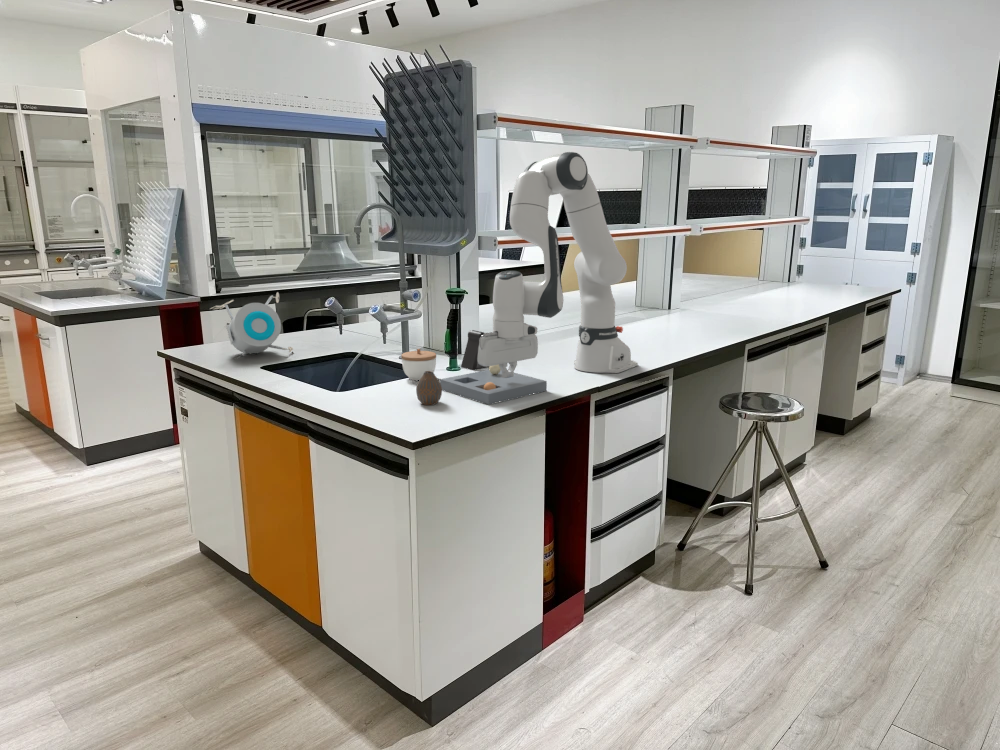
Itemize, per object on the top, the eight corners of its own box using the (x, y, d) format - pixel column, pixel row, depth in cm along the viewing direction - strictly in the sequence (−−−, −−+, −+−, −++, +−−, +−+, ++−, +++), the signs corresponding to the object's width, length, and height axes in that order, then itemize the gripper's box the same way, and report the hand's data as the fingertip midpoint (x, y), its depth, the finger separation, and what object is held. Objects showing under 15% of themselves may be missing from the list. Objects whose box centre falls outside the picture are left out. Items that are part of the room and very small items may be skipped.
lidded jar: (431, 373, 223) (430, 344, 221) (441, 380, 213) (440, 350, 211) (398, 376, 219) (397, 347, 217) (407, 384, 210) (406, 353, 207)
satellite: (271, 301, 264) (202, 312, 251) (284, 285, 248) (211, 296, 234) (287, 358, 263) (219, 372, 250) (301, 346, 247) (229, 360, 233)
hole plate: (497, 377, 217) (496, 368, 217) (546, 391, 201) (546, 381, 201) (440, 389, 203) (440, 379, 203) (488, 404, 187) (488, 394, 187)
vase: (443, 399, 192) (443, 369, 190) (440, 406, 186) (439, 375, 183) (419, 399, 193) (418, 368, 191) (414, 406, 186) (413, 374, 184)
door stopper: (481, 363, 237) (481, 328, 235) (493, 366, 233) (493, 331, 230) (461, 367, 232) (460, 331, 229) (472, 370, 227) (471, 334, 224)
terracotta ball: (490, 392, 197) (490, 380, 197) (498, 395, 195) (499, 382, 194) (480, 393, 195) (481, 381, 195) (488, 396, 193) (489, 384, 192)
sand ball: (495, 372, 211) (495, 361, 210) (503, 374, 208) (503, 363, 208) (486, 374, 209) (486, 363, 208) (494, 376, 206) (494, 364, 205)
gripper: (487, 335, 186) (487, 385, 190) (541, 327, 200) (540, 374, 203) (472, 332, 191) (472, 380, 194) (526, 324, 204) (526, 370, 207)
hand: (507, 377), depth 199 cm, fingers closed
